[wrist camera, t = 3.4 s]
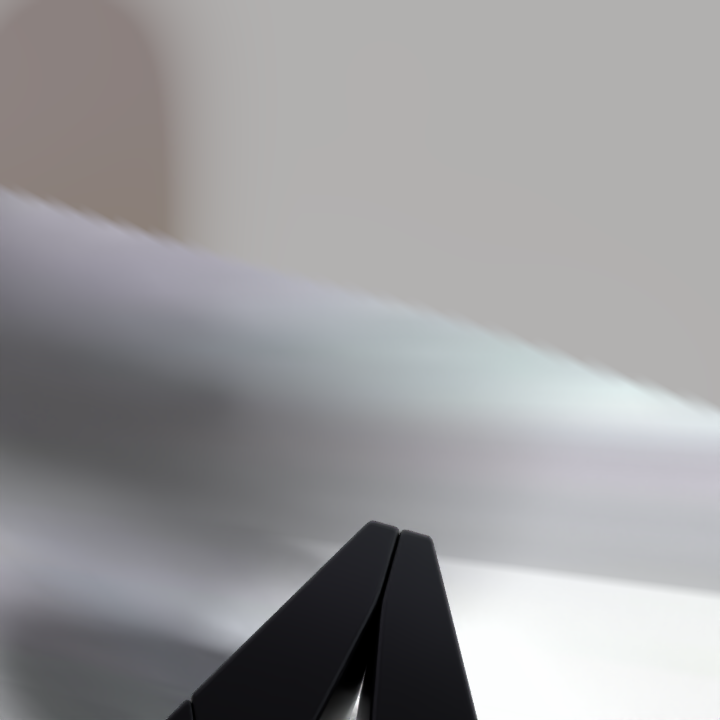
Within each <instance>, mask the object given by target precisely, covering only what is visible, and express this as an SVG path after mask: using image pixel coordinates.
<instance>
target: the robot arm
mask: <svg viewBox="0 0 720 720" xmlns="http://www.w3.org/2000/svg"><path fill="white" fill-rule="evenodd" d="M399 533H400V535H399ZM363 678H364V680H363ZM362 682H363V684H362ZM361 685H362V689H361V693H360V699H359V705H358V711H357V717H356V720H478V719H477V715H476V711H475V707H474V703H473V699H472V695H471V691H470V687H469V683H468V679H467V675H466V671H465V667H464V663H463V659H462V655H461V651H460V647H459V643H458V639H457V635H456V631H455V627H454V623H453V619H452V615H451V611H450V607H449V603H448V599H447V595H446V591H445V587H444V583H443V579H442V575H441V571H440V567H439V563H438V559H437V555H436V551H435V547H434V543H433V541H432V539H431V538H430V537H429V536H427V535H423V534H420V533H416V532H413V531H409V530H402V531H401V532H399V529H398V528H397V527H395V526H391V525H388V524H384V523H381V522H377V521H370V522H368V523H367V524H366V525H365V526H363V527H362V528H361V529H360V530H359V531H358V532H357V533H356V534H355V535H354V536H353V537H352V538H351V539H350V540H349V541H348V542H347V543H346V544H345V545H344V546H343V547H342V548H341V549H340V550H339V551H338V552H337V553H336V554H335V555H334V556H333V557H332V558H331V559H330V560H329V561H328V562H327V563H326V564H325V565H324V566H323V567H322V568H321V569H320V570H319V571H317V572H316V573H315V574H314V575H313V576H312V577H311V578H310V579H309V580H308V581H307V582H306V583H305V584H304V585H303V586H302V587H301V588H300V589H299V590H298V591H297V592H296V593H295V594H294V595H293V596H292V597H291V598H290V599H289V600H288V601H287V602H286V603H285V604H284V605H283V606H282V607H281V608H280V609H279V610H278V611H277V612H276V613H275V614H274V615H273V616H272V617H270V618H269V619H268V620H267V621H266V622H265V623H264V624H263V625H262V626H261V627H260V628H259V629H258V630H257V631H256V632H255V633H254V634H253V635H252V636H251V637H250V638H249V639H248V640H247V641H246V642H245V643H244V644H243V645H242V646H241V647H240V648H239V649H238V650H237V651H236V652H235V653H234V654H233V655H232V656H231V657H230V658H229V659H228V660H227V661H226V662H224V663H223V664H222V665H221V666H220V667H219V668H218V669H217V670H216V671H215V672H214V673H213V674H212V675H211V676H210V677H209V678H208V679H207V680H206V681H205V682H204V683H203V684H202V685H201V686H200V687H199V688H198V689H197V690H196V691H195V692H194V693H193V694H192V695H191V701H189V700H186V701H184V702H183V703H182V704H181V705H180V706H179V707H178V708H177V709H176V710H175V711H174V712H173V713H172V714H171V715H170V716H169V717H168V718H167V719H166V720H350V717H351V715H352V712H353V709H354V706H355V704H356V701H357V698H358V695H359V692H360V688H361Z"/></svg>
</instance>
